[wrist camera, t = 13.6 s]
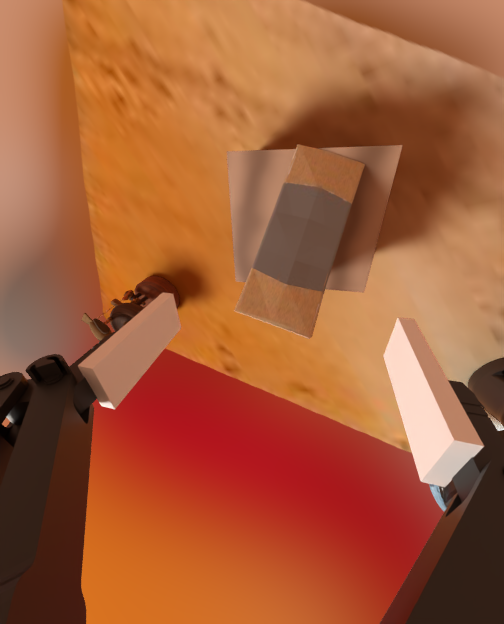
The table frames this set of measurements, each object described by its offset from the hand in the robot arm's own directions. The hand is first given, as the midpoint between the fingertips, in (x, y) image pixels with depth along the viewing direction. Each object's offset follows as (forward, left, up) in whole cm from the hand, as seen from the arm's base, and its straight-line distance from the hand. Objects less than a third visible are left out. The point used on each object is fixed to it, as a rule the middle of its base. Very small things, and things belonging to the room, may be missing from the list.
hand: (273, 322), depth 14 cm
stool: (0, 0, -35) cm, 35 cm away
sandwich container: (-1, -1, -23) cm, 23 cm away
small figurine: (+34, +21, -35) cm, 53 cm away
